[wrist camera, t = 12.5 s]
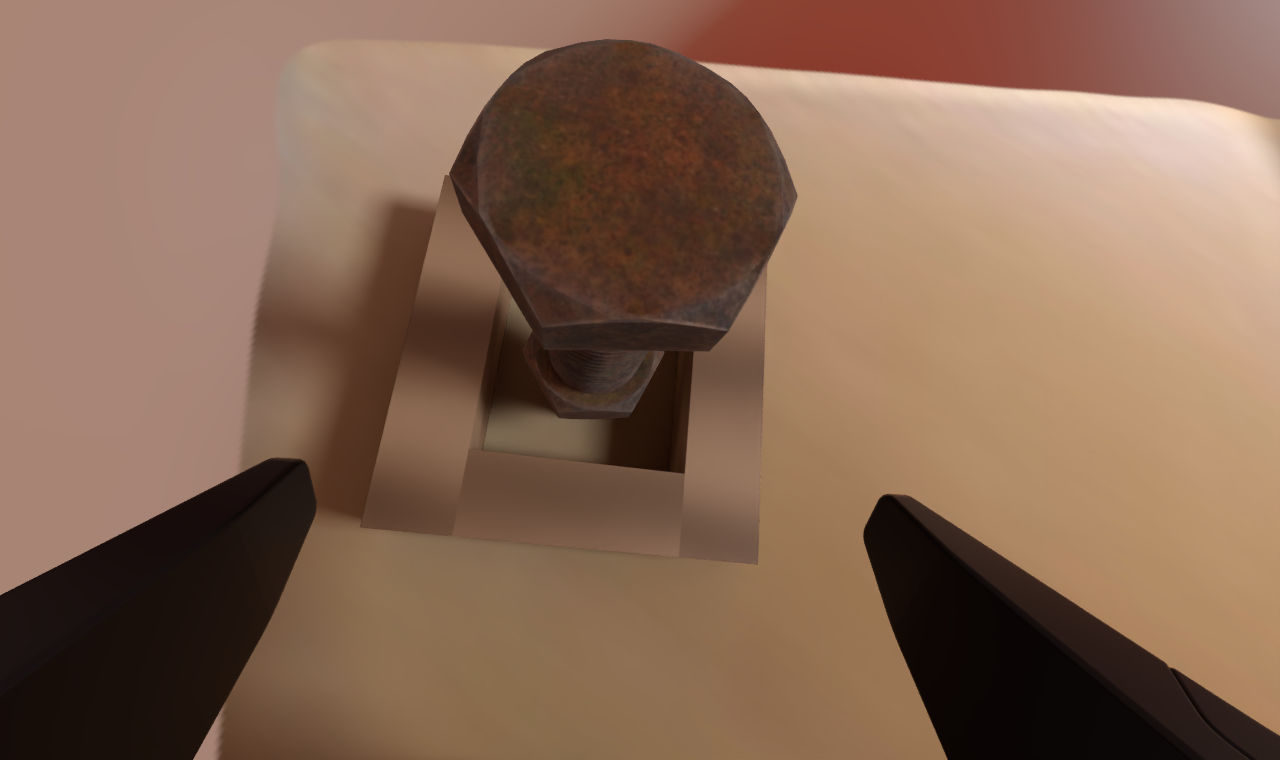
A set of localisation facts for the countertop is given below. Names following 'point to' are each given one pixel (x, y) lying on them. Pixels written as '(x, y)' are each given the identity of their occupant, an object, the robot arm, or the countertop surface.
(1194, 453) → the countertop surface
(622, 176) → the bolt
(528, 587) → the countertop surface
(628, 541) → the jig
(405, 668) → the countertop surface
